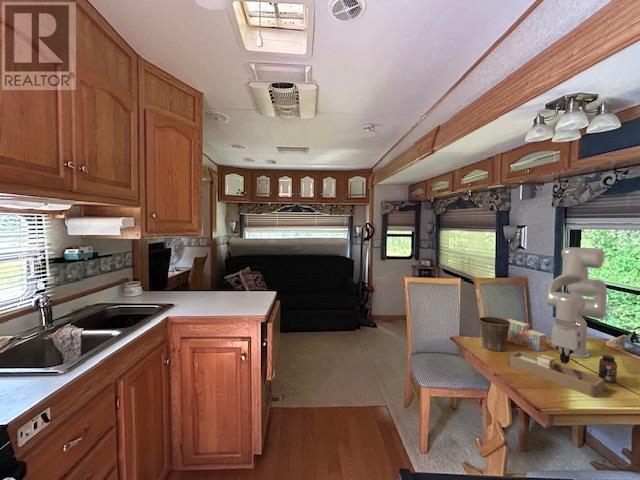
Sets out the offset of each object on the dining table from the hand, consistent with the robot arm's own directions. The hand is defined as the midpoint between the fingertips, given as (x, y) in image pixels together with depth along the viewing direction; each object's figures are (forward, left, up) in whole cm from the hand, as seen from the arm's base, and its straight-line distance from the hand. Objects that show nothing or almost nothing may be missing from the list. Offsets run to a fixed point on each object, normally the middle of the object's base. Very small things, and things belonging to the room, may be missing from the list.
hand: (564, 362), depth 138 cm
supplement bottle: (-19, +10, -9) cm, 23 cm away
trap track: (-1, -5, -9) cm, 10 cm away
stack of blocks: (-31, -32, -9) cm, 45 cm away
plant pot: (-11, -38, -9) cm, 41 cm away
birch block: (-1, -8, -6) cm, 10 cm away
